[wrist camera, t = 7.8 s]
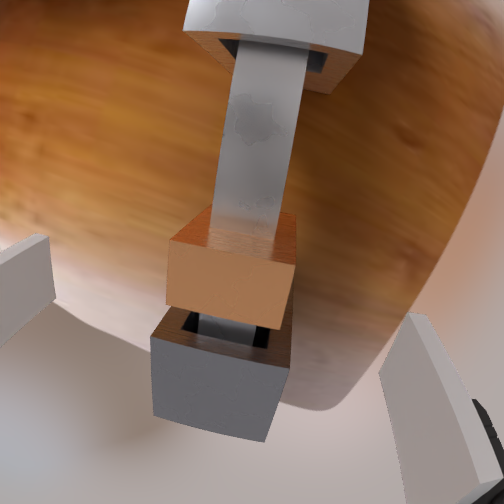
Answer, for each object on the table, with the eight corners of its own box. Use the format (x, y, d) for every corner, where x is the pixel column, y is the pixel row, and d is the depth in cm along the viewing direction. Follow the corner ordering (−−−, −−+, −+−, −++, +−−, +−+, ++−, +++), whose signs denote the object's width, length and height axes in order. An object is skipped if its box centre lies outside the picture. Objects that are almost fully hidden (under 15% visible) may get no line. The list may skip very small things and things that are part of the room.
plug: (243, 37, 16) (211, -18, 9) (326, 50, 16) (345, -3, 8) (203, 303, 23) (164, 377, 15) (272, 318, 22) (260, 400, 15)
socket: (210, 251, 27) (150, 336, 15) (293, 268, 26) (289, 368, 15) (202, 316, 29) (153, 415, 17) (278, 332, 29) (264, 442, 17)
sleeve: (255, -19, 18) (225, -109, 7) (344, -5, 18) (375, -93, 6) (236, 79, 22) (182, 30, 10) (329, 94, 21) (362, 54, 10)
